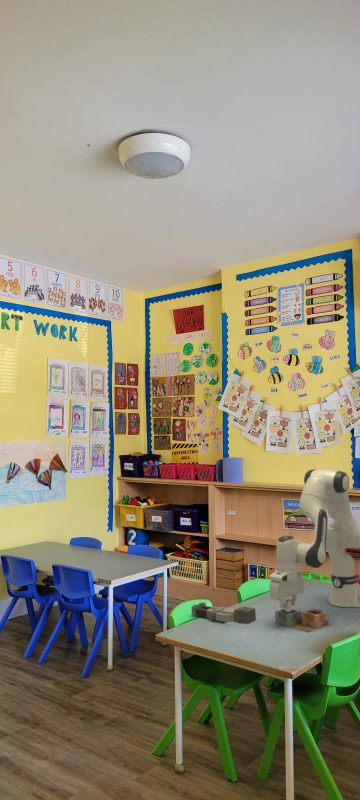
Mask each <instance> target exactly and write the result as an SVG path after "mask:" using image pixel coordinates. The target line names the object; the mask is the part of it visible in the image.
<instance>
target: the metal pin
mask: <svg viewBox="0 0 360 800" xmlns="http://www.w3.org/2000/svg"><path fill="white" fill-rule="evenodd" d="M291 600H292V598H291V599H290V598H284V600H283V602H284V604H285V613H292V609H293V607H292V605H291Z"/></svg>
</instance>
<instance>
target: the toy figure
mask: <svg viewBox="0 0 360 800" xmlns="http://www.w3.org/2000/svg"><path fill="white" fill-rule="evenodd" d="M256 613H257V612H256V608H255V607H251V606H250V607H249V606H243V605H242V606H240V607H237V608H236V607H229V606H225V605H223V606H218V607H217V606H208V605H207V602H198V604H193V605H192V606H191V617H192V618H197V617H203V618H204V617H205V618H207V619H209V620H212V621H220V622H223V623H228V622H236V623H241V624H246V625H250V624H252V623H253V622H256V620H257V617H256V616H257V615H256Z"/></svg>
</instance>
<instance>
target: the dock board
mask: <svg viewBox="0 0 360 800" xmlns="http://www.w3.org/2000/svg"><path fill="white" fill-rule="evenodd" d="M274 613H275V614H274V615H275V616H274V617H275V618H274V619H275V621H274V624H275V625H278V626H283V627H287V628H290V629H293V630H297V631H301V632H304V633H311V632H313V631H316V630H319V629H321V628H323V627H326V626H329V625H331V624H329V612H328V611H324V610H319V609H316V608H311V609H308V610H304V611H301V610H297V609H293V608H292V613H285V608H281V609H278V610H275V611H274Z"/></svg>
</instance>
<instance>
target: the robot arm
mask: <svg viewBox="0 0 360 800" xmlns="http://www.w3.org/2000/svg"><path fill="white" fill-rule="evenodd" d="M303 483H304V486H303V488H302V492H301V495H300V498H299V502H298V503H299V504H298V506H299V510H300V511H301V513H302V514H303V515H304V516H305V517H306V518H308V519H310V520H312V521H313V523H314V531H313V541H312V542H311V543H308V542H302V541H298V540H297V539H295V537H294V536H291V535H283V536H280V537H279V538H278V539H277V541H276V549H275V553H276V557H275V558H276V560H277V561H276V563H277V564H276V569H275V570H274V571H273V572H272V573H271V574H269V577H268V578H269V597H270V599H271V600H275V601H278V603H279V606H280V608H281V609H284V608H285V604H284V599H287V598H288V597H291V606H295V605H296V604H297V603H296V601H297V598H298V595H299V594H302V593H304V592H305V581H304V578H303V573H302V572H301V571H299V570H298V565H303V566H307V567H310V568H313V569H319V568H320V567H322V566H323V565H324V564H325V563H326V559H327V553H328V554H329V558H330V565H331V566H330V567H331V575H330V579H331V584H330V585H329V597H327V602H328V603H329V604H330V605H332V606H336V607H342V608H360V584H359V582H358V580H359V579H360V574H356V572H355V571H356V570H355V560H354V558H353V557H352V556H351V555H350V554H348V553H346V552H345V551H344V549H343V548H355V549H356V548H360V523H359V522H358V521H357V520H356V519H355V517H354V516H353V513H352V511H351V504H350V501H349V500H350V499H349V498H350V497H349V492H348V489H349V487H350V477H349V475H348V474H347V473H346V472H345V471H341V470H333V469H315V468H314V469H310V470H307V472H306V473H305V474H304V478H303ZM325 502H326V503H325ZM325 504H326V510H327V512H326V510H325ZM328 516H329V517H330V518H331V519H332V520H333V521H335V522H337V523H328Z"/></svg>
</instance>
